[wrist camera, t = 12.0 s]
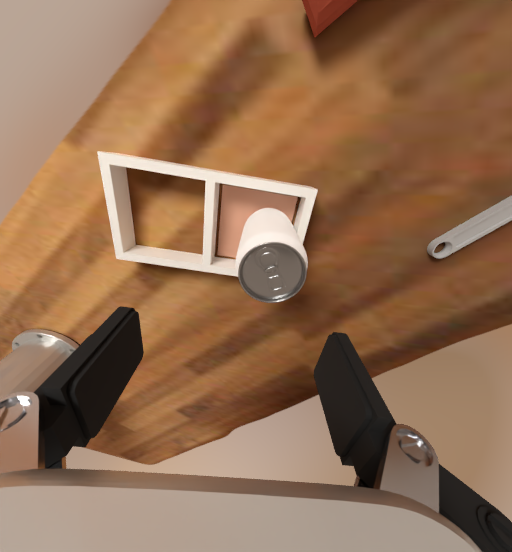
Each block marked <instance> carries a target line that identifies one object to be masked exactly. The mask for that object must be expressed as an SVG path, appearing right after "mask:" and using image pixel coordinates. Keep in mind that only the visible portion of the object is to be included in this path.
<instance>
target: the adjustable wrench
mask: <svg viewBox="0 0 512 552" xmlns="http://www.w3.org/2000/svg"><path fill="white" fill-rule="evenodd" d="M511 220H512V196H510V197H508V198H506V199H505V200H503V201H501V202H499V203H498V204H496V205H494V206H492V207H491V208H489V209H487V210H485V211H484V212H482V213H480V214H478V215H476V216H475V217H473V218H471V219H469V220H468V221H466V222H464V223H462V224H461V225H459V226H457V227H455V228H454V229H452V230H450V231H448V232H447V233H445V234H443V235H441V236H440V237H438V238H436V239H434V240H433V241H432V242H431V243H430V244H429V245H428V247H427V252H428V254H430V255H431V256H433V257H435V258H439V259H440V258H444V257H446V256H448V255H450V254H452V253H454V252H455V251H457V250H459V249H461V248H463V247H464V246H466V245H468V244H470V243H472V242H473V241H475V240H477V239H479V238H481V237H482V236H484V235H486V234H488V233H490V232H491V231H493V230H495V229H497V228H499V227H500V226H502V225H504V224H506V223H508V222H509V221H511ZM442 242H445V247H444V249H443V250H442V251H440V252H438V253H434V250H435V248H436V247H437V245H439V244H440V243H442Z"/></svg>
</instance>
